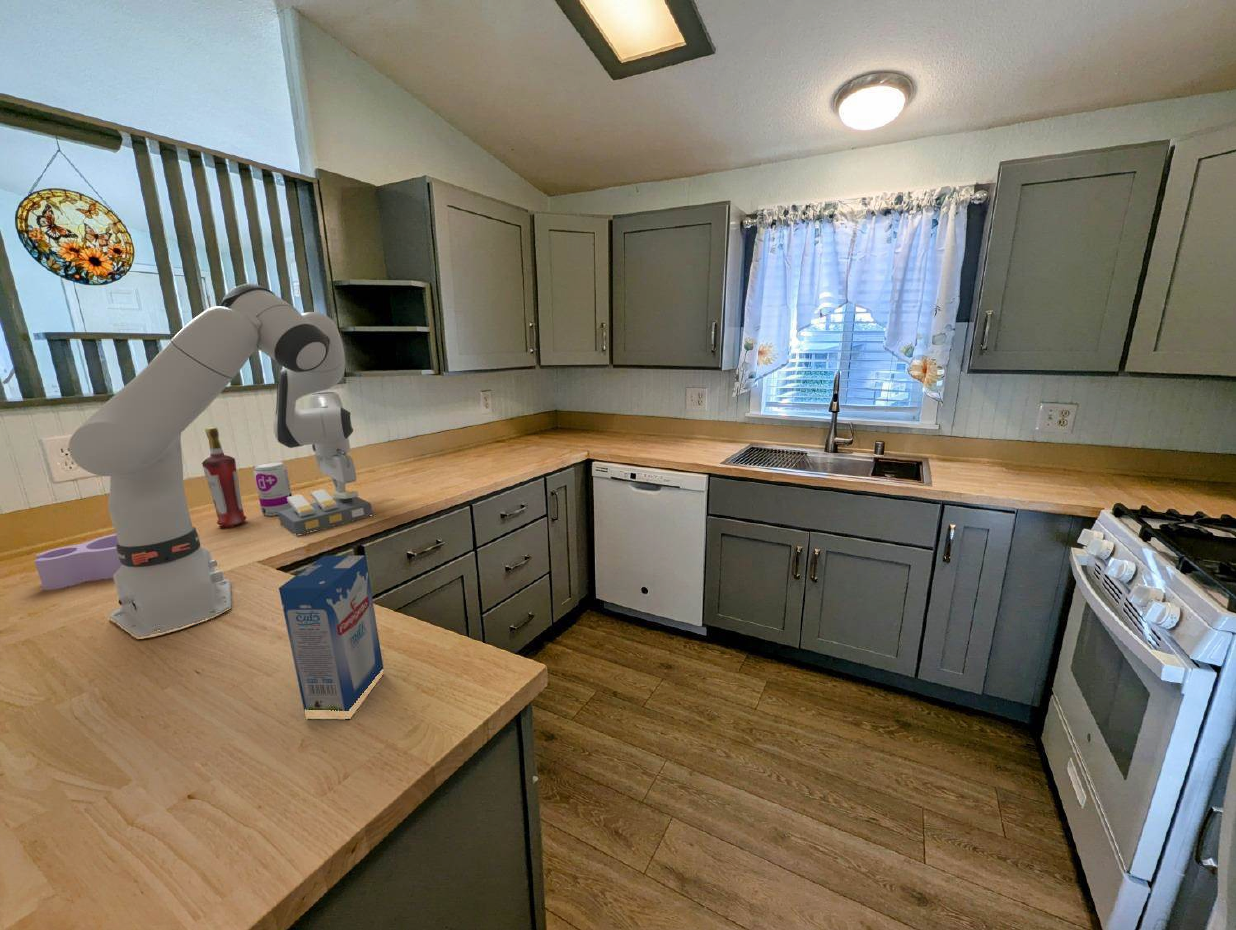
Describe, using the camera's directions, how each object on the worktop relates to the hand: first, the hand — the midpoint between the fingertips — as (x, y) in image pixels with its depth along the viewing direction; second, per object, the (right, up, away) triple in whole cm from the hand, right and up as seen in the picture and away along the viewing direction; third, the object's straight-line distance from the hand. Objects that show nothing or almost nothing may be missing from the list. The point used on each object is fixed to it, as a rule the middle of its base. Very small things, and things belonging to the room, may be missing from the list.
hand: (340, 491), depth 154 cm
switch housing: (-1, -8, -6) cm, 10 cm away
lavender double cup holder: (-34, -17, -36) cm, 52 cm away
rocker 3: (+3, -1, -3) cm, 5 cm away
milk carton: (+44, -26, -79) cm, 94 cm away
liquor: (-27, -9, -8) cm, 29 cm away
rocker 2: (-1, -2, -7) cm, 8 cm away
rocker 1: (-5, -3, -12) cm, 13 cm away
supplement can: (-20, -7, +2) cm, 21 cm away
